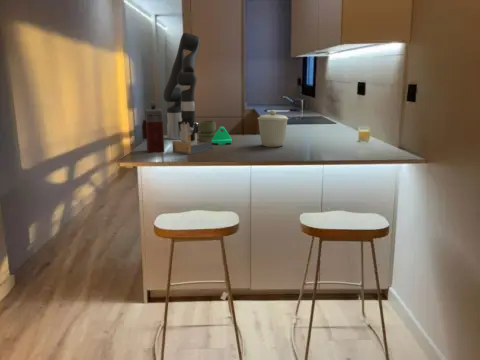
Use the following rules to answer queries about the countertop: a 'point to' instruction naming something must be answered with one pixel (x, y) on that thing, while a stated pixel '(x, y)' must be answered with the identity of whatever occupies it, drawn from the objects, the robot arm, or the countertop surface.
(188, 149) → the rail
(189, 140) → the supplement box
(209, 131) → the piston
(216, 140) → the camera mount
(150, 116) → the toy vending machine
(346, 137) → the countertop surface
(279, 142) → the canister
